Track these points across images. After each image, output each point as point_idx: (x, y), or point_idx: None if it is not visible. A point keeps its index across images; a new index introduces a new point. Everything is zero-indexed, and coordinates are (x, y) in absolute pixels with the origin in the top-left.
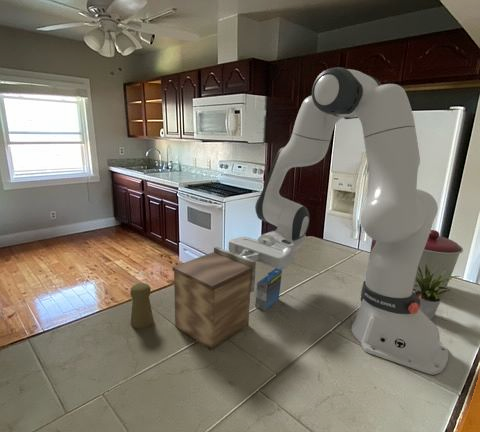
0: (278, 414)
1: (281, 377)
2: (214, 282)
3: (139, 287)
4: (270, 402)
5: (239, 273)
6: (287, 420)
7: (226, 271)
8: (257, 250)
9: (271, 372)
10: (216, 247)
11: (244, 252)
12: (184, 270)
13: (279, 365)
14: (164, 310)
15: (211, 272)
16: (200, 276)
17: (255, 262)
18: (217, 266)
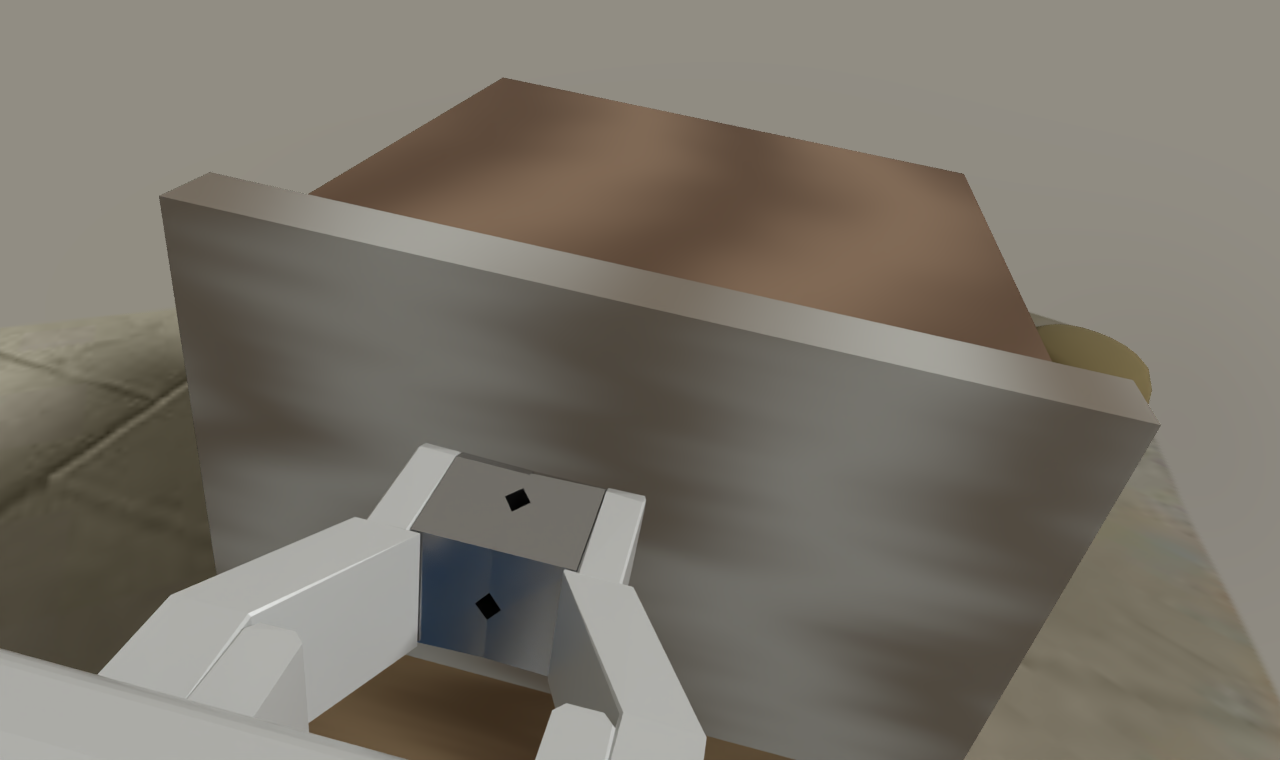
0: (62, 348)
1: (14, 472)
2: (514, 94)
3: (1067, 329)
4: (96, 373)
5: (363, 162)
6: (23, 339)
7: (515, 168)
8: (144, 699)
9: (78, 483)
10: (1123, 401)
11: (582, 614)
12: (841, 155)
13: (12, 533)
14: (1027, 694)
15: (634, 153)
16: (665, 124)
17: (167, 212)
18: (666, 210)
